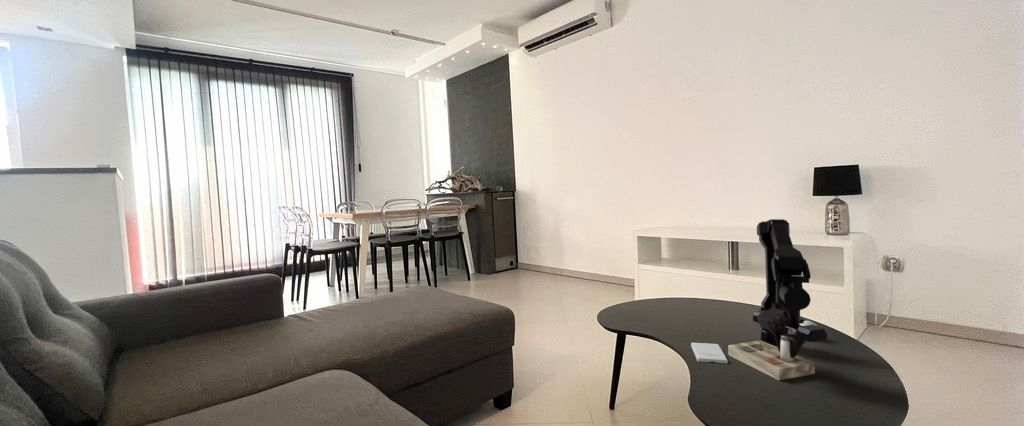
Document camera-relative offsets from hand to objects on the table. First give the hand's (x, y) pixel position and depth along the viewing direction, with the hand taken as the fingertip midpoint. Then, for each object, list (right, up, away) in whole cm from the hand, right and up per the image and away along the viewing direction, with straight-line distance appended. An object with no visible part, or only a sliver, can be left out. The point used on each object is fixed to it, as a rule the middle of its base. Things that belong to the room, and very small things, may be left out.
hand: (787, 355), depth 121 cm
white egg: (+22, -2, +24) cm, 33 cm away
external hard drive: (-16, -4, +12) cm, 21 cm away
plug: (0, -3, 0) cm, 2 cm away
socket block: (-3, -4, +4) cm, 6 cm away
